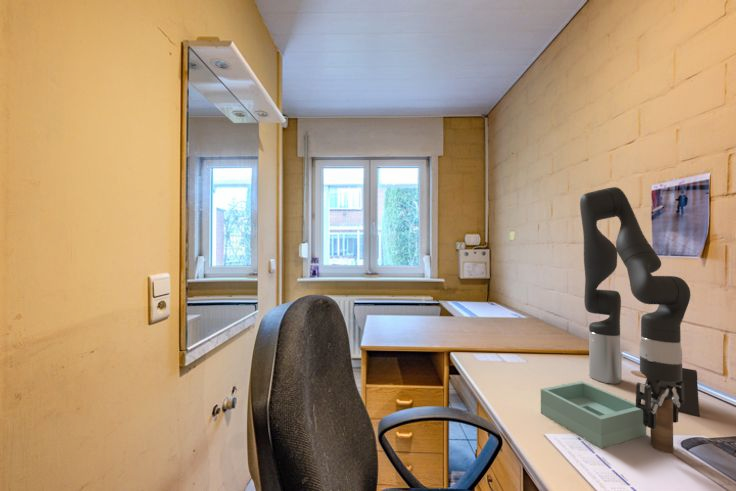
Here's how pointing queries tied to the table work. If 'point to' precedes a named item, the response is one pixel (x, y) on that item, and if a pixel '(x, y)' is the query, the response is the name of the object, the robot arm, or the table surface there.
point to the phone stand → (690, 392)
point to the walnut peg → (663, 427)
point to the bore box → (593, 413)
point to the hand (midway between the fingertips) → (660, 424)
